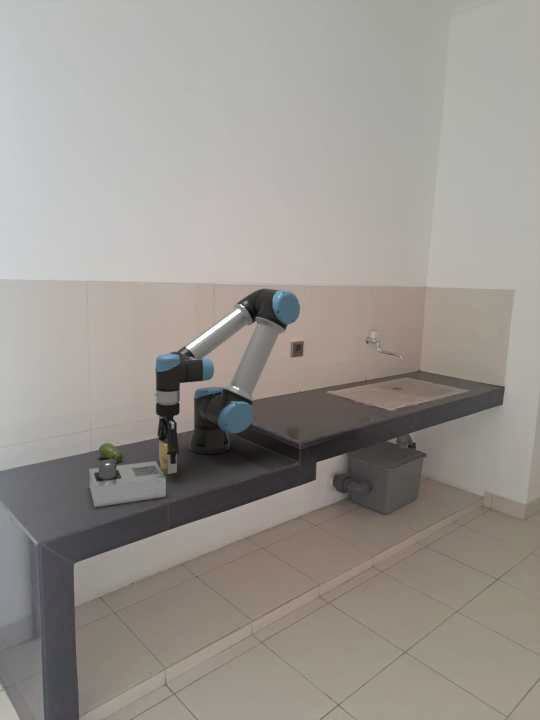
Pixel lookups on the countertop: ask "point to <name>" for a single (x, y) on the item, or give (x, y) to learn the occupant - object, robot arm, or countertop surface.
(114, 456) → the pear
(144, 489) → the block
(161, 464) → the yellow piece
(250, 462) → the countertop surface
